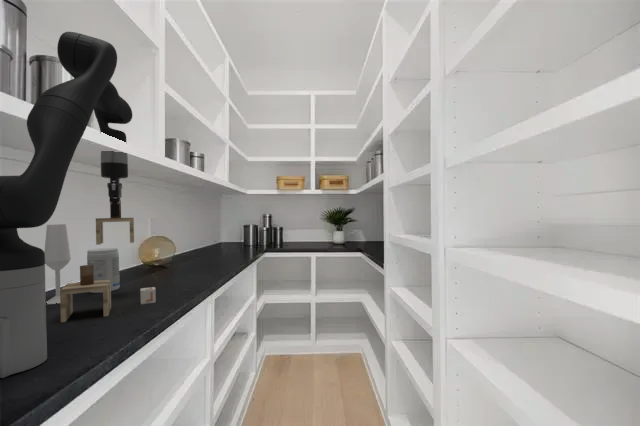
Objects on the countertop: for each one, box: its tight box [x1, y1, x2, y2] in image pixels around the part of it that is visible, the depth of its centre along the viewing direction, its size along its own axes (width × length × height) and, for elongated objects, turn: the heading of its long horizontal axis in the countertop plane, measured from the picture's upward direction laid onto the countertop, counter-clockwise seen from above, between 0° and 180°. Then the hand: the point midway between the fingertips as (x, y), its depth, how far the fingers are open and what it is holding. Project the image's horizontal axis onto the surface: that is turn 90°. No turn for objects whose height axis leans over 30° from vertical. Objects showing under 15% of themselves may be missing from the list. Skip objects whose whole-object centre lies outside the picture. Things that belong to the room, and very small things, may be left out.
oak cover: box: [95, 202, 135, 246], centre depth 111 cm, size 10×10×13 cm
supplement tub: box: [86, 247, 121, 294], centre depth 122 cm, size 10×10×15 cm
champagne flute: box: [43, 223, 71, 305], centre depth 107 cm, size 7×7×24 cm
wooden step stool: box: [59, 264, 112, 323], centre depth 92 cm, size 10×10×13 cm
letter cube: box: [139, 286, 157, 305], centre depth 104 cm, size 4×4×4 cm
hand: (115, 215), depth 111 cm, fingers closed on oak cover, 3 cm apart
